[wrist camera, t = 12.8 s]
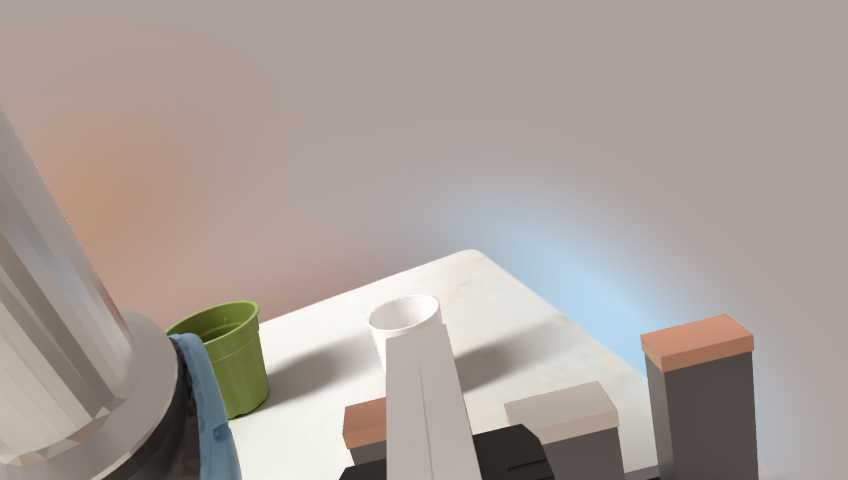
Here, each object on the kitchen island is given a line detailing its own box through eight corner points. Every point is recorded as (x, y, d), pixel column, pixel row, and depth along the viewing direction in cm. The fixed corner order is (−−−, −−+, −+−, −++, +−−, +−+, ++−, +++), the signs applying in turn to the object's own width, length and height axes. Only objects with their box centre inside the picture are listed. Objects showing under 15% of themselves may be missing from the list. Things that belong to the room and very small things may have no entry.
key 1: (763, 540, 36) (753, 334, 31) (683, 560, 36) (660, 357, 31) (739, 509, 38) (725, 314, 33) (664, 527, 38) (640, 334, 34)
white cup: (421, 364, 69) (401, 290, 65) (472, 378, 63) (454, 299, 60) (376, 401, 63) (352, 323, 60) (428, 420, 58) (404, 336, 55)
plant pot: (299, 368, 75) (273, 292, 71) (267, 427, 64) (234, 341, 60) (218, 381, 77) (188, 307, 73) (173, 440, 66) (135, 357, 62)
